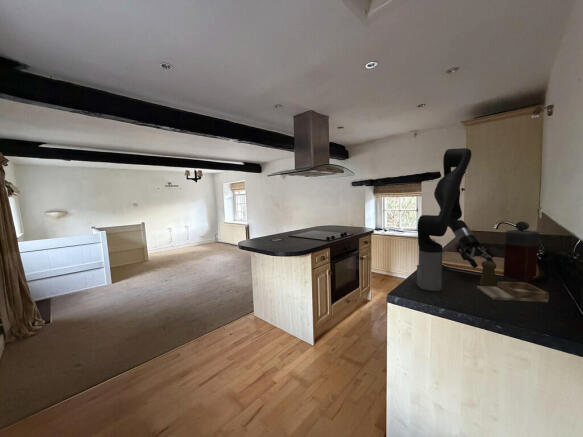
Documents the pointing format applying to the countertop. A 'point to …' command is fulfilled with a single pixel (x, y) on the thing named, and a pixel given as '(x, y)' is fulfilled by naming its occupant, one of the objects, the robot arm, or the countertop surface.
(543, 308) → the countertop surface
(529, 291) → the socket board
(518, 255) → the red coffee grinder
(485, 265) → the olive yellow waisted cylinder
